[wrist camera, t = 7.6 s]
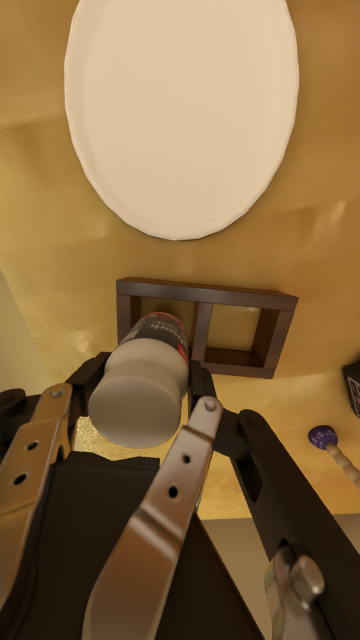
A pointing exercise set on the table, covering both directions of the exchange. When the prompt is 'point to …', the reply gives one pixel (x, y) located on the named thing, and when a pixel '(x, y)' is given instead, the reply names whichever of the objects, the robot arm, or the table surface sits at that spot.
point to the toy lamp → (334, 451)
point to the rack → (217, 361)
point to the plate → (181, 107)
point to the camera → (353, 386)
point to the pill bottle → (143, 384)
